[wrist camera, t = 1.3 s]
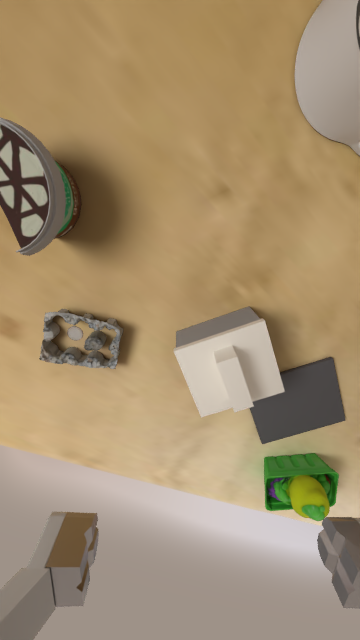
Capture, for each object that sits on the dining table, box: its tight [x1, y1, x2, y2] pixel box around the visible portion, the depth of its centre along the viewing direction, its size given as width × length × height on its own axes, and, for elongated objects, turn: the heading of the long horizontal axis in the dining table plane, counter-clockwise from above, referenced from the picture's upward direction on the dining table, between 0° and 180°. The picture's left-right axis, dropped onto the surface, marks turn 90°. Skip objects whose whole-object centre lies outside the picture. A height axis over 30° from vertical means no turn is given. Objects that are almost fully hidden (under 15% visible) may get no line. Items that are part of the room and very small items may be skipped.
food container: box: [0, 118, 81, 256], centre depth 28 cm, size 12×6×10 cm, turn 15°
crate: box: [176, 307, 260, 348], centre depth 37 cm, size 11×10×6 cm
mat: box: [250, 357, 345, 444], centre depth 43 cm, size 14×12×1 cm
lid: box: [174, 318, 285, 417], centre depth 33 cm, size 11×10×5 cm
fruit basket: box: [264, 453, 339, 521], centre depth 42 cm, size 11×9×11 cm
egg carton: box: [39, 309, 123, 369], centre depth 38 cm, size 11×8×4 cm
